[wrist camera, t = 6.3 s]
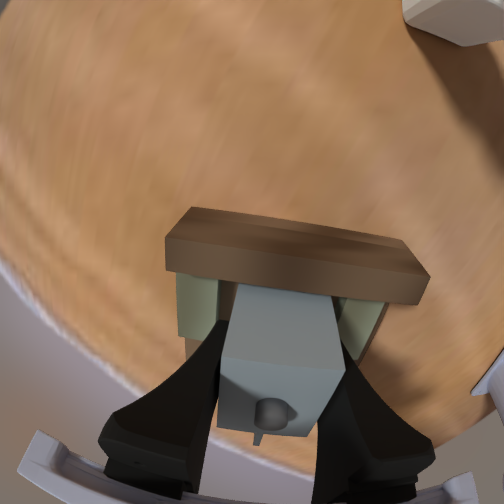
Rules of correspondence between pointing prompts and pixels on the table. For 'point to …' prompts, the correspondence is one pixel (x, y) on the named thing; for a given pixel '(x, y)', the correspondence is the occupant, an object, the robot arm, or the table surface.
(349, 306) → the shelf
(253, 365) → the grey knobbed box
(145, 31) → the table surface
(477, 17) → the pepper shaker
